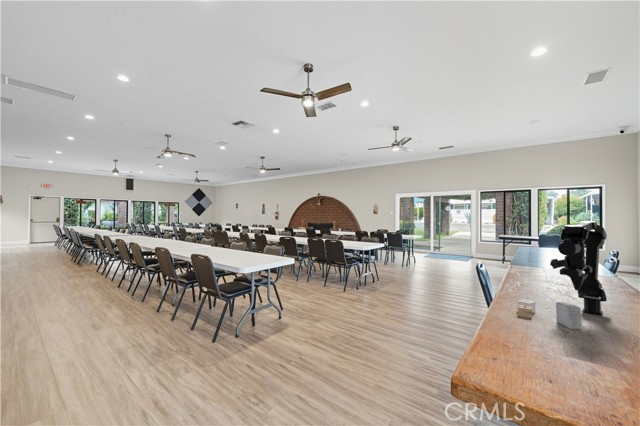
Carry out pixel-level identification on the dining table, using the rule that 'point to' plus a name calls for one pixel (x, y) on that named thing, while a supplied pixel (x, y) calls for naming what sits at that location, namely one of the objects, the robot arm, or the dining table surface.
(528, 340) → the dining table surface
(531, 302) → the grey block
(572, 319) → the medicine box
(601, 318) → the dining table surface
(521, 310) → the oak block
